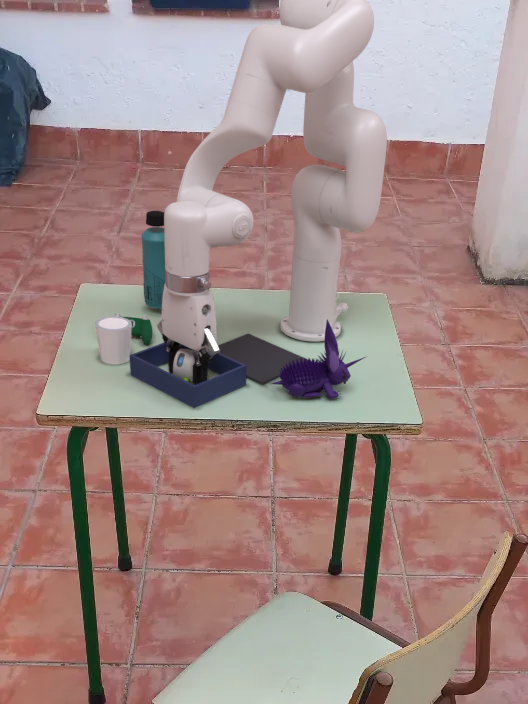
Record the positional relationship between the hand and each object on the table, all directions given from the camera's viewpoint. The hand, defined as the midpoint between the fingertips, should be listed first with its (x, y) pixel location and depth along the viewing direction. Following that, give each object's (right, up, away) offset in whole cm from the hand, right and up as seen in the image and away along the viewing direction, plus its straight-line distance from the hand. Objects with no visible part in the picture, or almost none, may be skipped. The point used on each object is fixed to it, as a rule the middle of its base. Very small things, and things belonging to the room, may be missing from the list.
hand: (188, 376), depth 166 cm
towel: (+12, +6, +9) cm, 16 cm away
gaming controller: (-13, +11, +13) cm, 21 cm away
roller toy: (0, -1, +1) cm, 1 cm away
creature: (+24, -3, 0) cm, 24 cm away
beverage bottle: (-8, +20, +25) cm, 33 cm away
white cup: (-14, +5, +6) cm, 17 cm away
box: (0, -1, +1) cm, 1 cm away
